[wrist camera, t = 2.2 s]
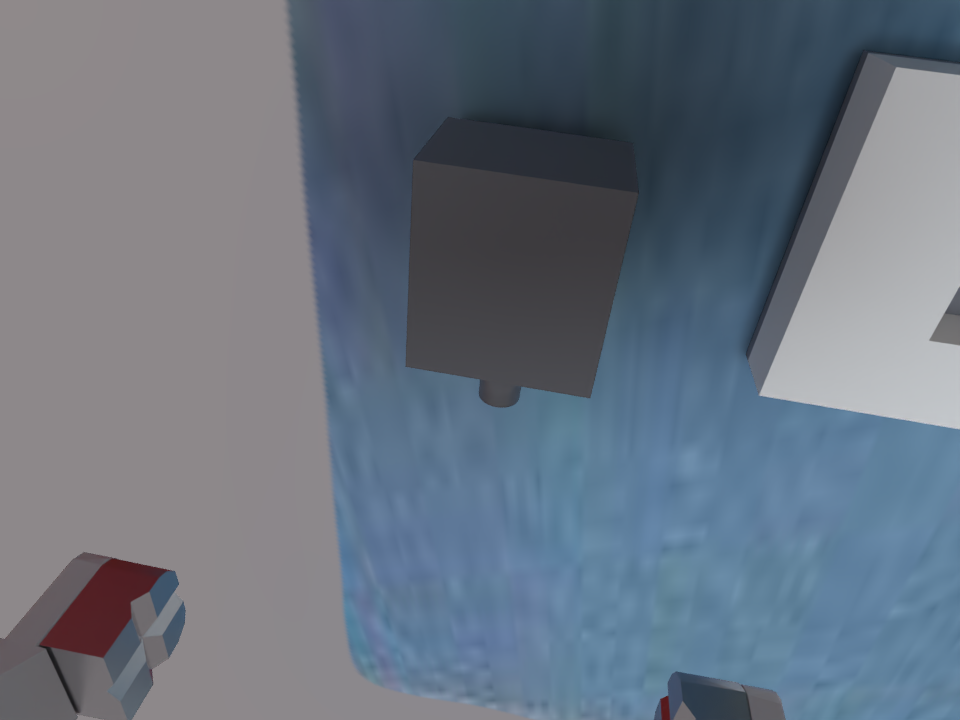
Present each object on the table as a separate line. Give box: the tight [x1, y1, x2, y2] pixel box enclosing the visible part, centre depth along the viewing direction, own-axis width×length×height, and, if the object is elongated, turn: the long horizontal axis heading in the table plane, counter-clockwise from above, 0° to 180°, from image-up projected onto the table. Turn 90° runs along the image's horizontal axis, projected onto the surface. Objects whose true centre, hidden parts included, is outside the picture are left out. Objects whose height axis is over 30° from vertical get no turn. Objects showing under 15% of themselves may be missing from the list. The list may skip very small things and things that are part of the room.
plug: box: [406, 117, 639, 407], centre depth 24 cm, size 10×6×7 cm
